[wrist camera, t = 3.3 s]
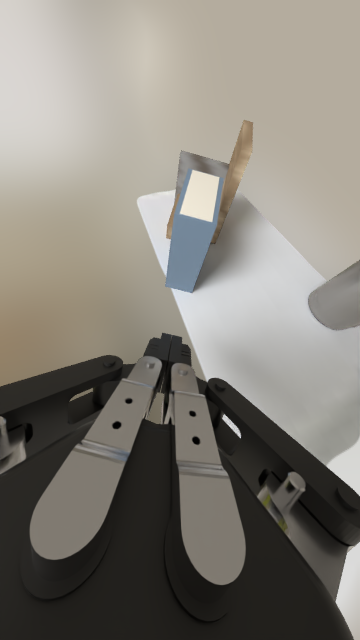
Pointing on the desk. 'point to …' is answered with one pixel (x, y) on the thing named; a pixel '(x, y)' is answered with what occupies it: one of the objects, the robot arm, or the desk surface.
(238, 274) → the desk surface
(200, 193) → the book
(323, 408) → the desk surface
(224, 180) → the shelf
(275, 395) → the desk surface
